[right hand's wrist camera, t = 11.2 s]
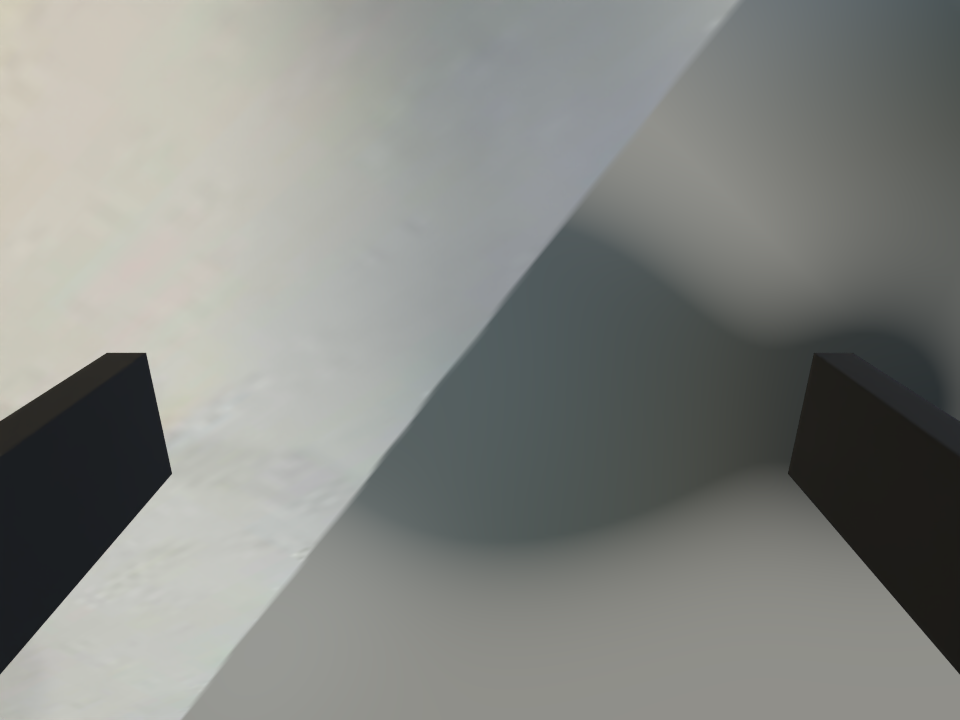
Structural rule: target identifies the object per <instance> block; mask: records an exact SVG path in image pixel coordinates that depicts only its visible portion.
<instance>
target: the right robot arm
mask: <svg viewBox="0 0 960 720" xmlns="http://www.w3.org/2000/svg"><path fill="white" fill-rule="evenodd" d="M171 474H172V471H171V467H170V462H169V458H168V453H167V448H166V444H165V439H164V434H163V430H162V425H161V420H160V416H159V411H158V407H157V402H156V397H155V393H154V388H153V383H152V379H151V374H150V369H149V365H148V360H147V356H146V353H106V354H105V355H103V356H101V357H100V358H98V359H97V360H95V361H94V362H92V363H90V364H89V365H87V366H86V367H84V368H83V369H81V370H80V371H78V372H76V373H75V374H73V375H72V376H70V377H69V378H67V379H66V380H64V381H62V382H61V383H59V384H58V385H56V386H55V387H53V388H51V389H50V390H48V391H47V392H45V393H44V394H42V395H41V396H39V397H37V398H36V399H34V400H33V401H31V402H30V403H28V404H26V405H25V406H23V407H22V408H20V409H19V410H17V411H16V412H14V413H12V414H11V415H9V416H8V417H6V418H5V419H3V420H2V421H0V674H1V673H2V672H3V670H4V669H5V668H6V667H7V666H8V665H9V663H10V662H11V661H12V660H13V659H14V658H15V656H16V655H17V654H18V653H19V652H20V651H21V649H22V648H23V647H24V646H25V645H26V644H27V642H28V641H29V640H30V639H31V638H32V637H33V635H34V634H35V633H36V632H37V631H38V630H39V628H40V627H41V626H42V625H43V624H44V623H45V621H46V620H47V619H48V618H49V617H50V616H51V614H52V613H53V612H54V611H55V610H56V609H57V607H58V606H59V605H60V604H61V603H62V602H63V600H64V599H65V598H66V597H67V596H68V595H69V593H70V592H71V591H72V590H73V589H74V588H75V586H76V585H77V584H78V583H79V582H80V580H81V579H82V578H83V577H84V576H85V575H86V573H87V572H88V571H89V570H90V569H91V568H92V566H93V565H94V564H95V563H96V562H97V561H98V559H99V558H100V557H101V556H102V555H103V554H104V552H105V551H106V550H107V549H108V548H109V547H110V545H111V544H112V543H113V542H114V541H115V540H116V538H117V537H118V536H119V535H120V534H121V533H122V531H123V530H124V529H125V528H126V527H127V526H128V524H129V523H130V522H131V521H132V520H133V519H134V517H135V516H136V515H137V514H138V513H139V512H140V510H141V509H142V508H143V507H144V506H145V505H146V503H147V502H148V501H149V500H150V499H151V498H152V496H153V495H154V494H155V493H156V492H157V491H158V489H159V488H160V487H161V486H162V485H163V484H164V482H165V481H166V480H167V479H168V478H169V477H170V475H171ZM788 474H789V475H790V477H791V478H792V479H793V480H794V481H795V482H796V484H797V485H798V486H799V487H800V488H801V489H802V491H803V492H804V493H805V494H806V495H807V496H808V498H809V499H810V500H811V501H812V502H813V503H814V505H815V506H816V507H817V508H818V509H819V510H820V512H821V513H822V514H823V515H824V516H825V517H826V519H827V520H828V521H829V522H830V523H831V524H832V526H833V527H834V528H835V529H836V530H837V531H838V533H839V534H840V535H841V536H842V537H843V538H844V540H845V541H846V542H847V543H848V544H849V545H850V547H851V548H852V549H853V550H854V551H855V552H856V554H857V555H858V556H859V557H860V558H861V559H862V561H863V562H864V563H865V564H866V565H867V566H868V568H869V569H870V570H871V571H872V572H873V573H874V575H875V576H876V577H877V578H878V579H879V580H880V582H881V583H882V584H883V585H884V586H885V588H886V589H887V590H888V591H889V592H890V593H891V595H892V596H893V597H894V598H895V599H896V600H897V602H898V603H899V604H900V605H901V606H902V607H903V609H904V610H905V611H906V612H907V613H908V614H909V616H910V617H911V618H912V619H913V620H914V621H915V623H916V624H917V625H918V626H919V627H920V628H921V629H922V631H923V632H924V633H925V634H926V635H927V637H928V638H929V639H930V640H931V641H932V642H933V644H934V645H935V646H936V647H937V648H938V649H939V651H940V652H941V653H942V654H943V655H944V656H945V658H946V659H947V660H948V661H949V662H950V663H951V665H952V666H953V667H954V668H955V669H956V670H957V672H958V673H959V674H960V421H958V420H957V419H955V418H954V417H952V416H951V415H949V414H948V413H946V412H944V411H943V410H941V409H940V408H938V407H937V406H935V405H933V404H932V403H930V402H929V401H927V400H926V399H924V398H923V397H921V396H919V395H918V394H916V393H915V392H913V391H912V390H910V389H909V388H907V387H905V386H904V385H902V384H901V383H899V382H898V381H896V380H894V379H893V378H891V377H890V376H888V375H887V374H885V373H883V372H882V371H880V370H879V369H877V368H876V367H874V366H873V365H871V364H870V363H868V362H866V361H865V360H863V359H862V358H860V357H859V356H857V355H855V354H854V353H814V356H813V360H812V365H811V370H810V374H809V379H808V383H807V388H806V393H805V397H804V402H803V407H802V411H801V416H800V420H799V425H798V430H797V434H796V439H795V444H794V448H793V453H792V458H791V462H790V467H789V471H788Z"/></svg>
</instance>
